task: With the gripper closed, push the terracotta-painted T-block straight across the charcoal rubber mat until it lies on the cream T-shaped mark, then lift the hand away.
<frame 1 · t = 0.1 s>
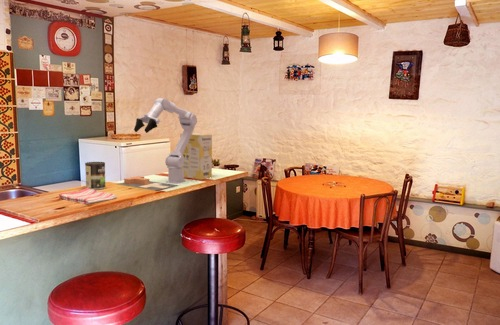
hand: (140, 131, 222), 32 cm above the countertop, tool tilted 50°, fingers open, 7 cm apart
dish towel: (88, 199, 204), on the countertop
pasta box: (195, 177, 272), on the countertop
coffee can: (95, 188, 229), on the countertop
t block: (139, 183, 242), resting on slate mat
slate mat: (147, 185, 240), on the countertop
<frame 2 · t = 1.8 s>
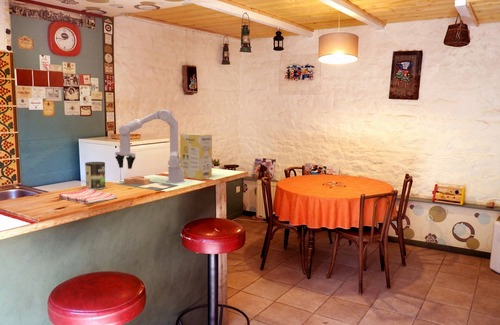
hand: (125, 168, 247), 8 cm above the countertop, tool pointing down, fingers open, 7 cm apart
nothing on the countertop moved.
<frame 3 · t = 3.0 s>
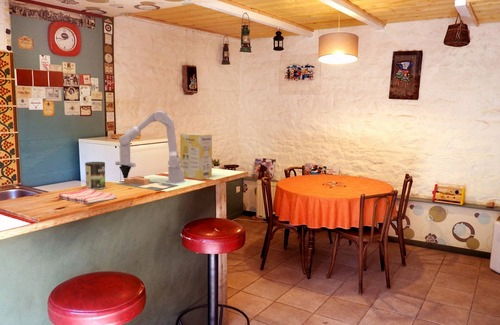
hand: (125, 177, 247), 3 cm above the countertop, tool pointing down, fingers closed
nothing on the countertop moved.
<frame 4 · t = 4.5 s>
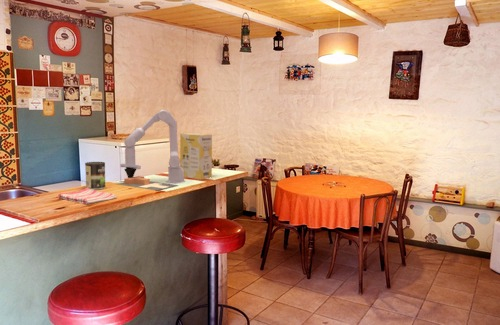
hand: (130, 180, 246), 2 cm above the countertop, tool pointing down, fingers closed
t block: (139, 183, 242), resting on slate mat, touching gripper
everything else where it was.
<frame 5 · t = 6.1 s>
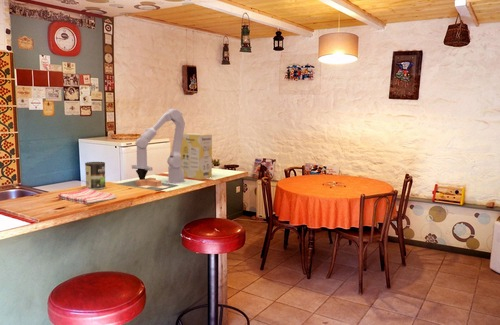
hand: (142, 181, 241), 2 cm above the countertop, tool pointing down, fingers closed
t block: (151, 185, 238), resting on slate mat, touching gripper
everything else where it was.
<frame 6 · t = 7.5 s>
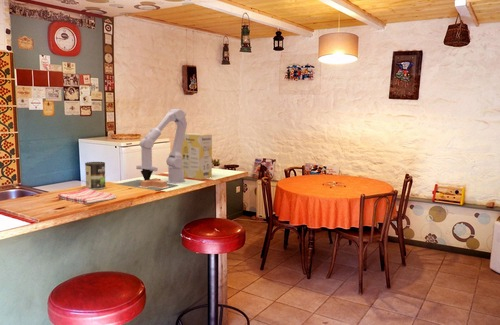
hand: (147, 182, 239), 2 cm above the countertop, tool pointing down, fingers closed
t block: (156, 186, 236), resting on slate mat, touching gripper
everything else where it was.
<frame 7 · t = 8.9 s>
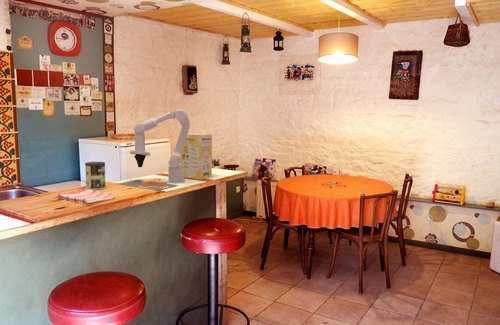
hand: (140, 167, 246), 9 cm above the countertop, tool pointing down, fingers closed
t block: (156, 186, 236), resting on slate mat
everything else where it was.
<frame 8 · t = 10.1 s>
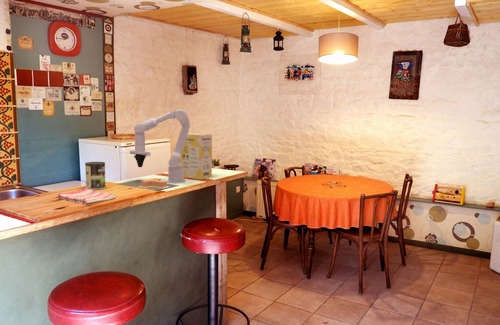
hand: (140, 167, 246), 9 cm above the countertop, tool pointing down, fingers closed
nothing on the countertop moved.
at the end: t block 0.1 cm from the target spot on the slate mat, point 0.4 cm above the slate mat's base; t block tilted 0°; t block moved 13.1 cm from its start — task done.
